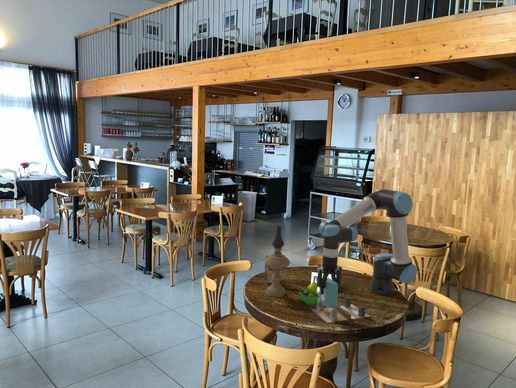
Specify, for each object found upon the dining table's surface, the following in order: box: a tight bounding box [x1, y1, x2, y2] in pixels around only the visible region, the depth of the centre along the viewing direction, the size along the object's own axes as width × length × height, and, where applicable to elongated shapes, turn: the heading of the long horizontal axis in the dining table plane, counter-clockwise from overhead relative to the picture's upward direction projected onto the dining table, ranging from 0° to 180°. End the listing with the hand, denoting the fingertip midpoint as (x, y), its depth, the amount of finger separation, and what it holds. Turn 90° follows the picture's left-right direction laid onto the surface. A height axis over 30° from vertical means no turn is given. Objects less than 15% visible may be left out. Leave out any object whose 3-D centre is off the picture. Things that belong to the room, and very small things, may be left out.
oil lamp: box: [264, 225, 291, 298], centre depth 236 cm, size 15×15×40 cm
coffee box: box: [263, 254, 281, 284], centre depth 257 cm, size 9×6×16 cm
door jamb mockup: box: [311, 296, 371, 324], centre depth 213 cm, size 26×16×6 cm, turn 112°
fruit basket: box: [298, 281, 319, 306], centre depth 227 cm, size 11×9×11 cm
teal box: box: [318, 277, 339, 308], centre depth 209 cm, size 5×9×12 cm, turn 22°
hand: (327, 299), depth 209 cm, fingers closed on teal box, 5 cm apart
